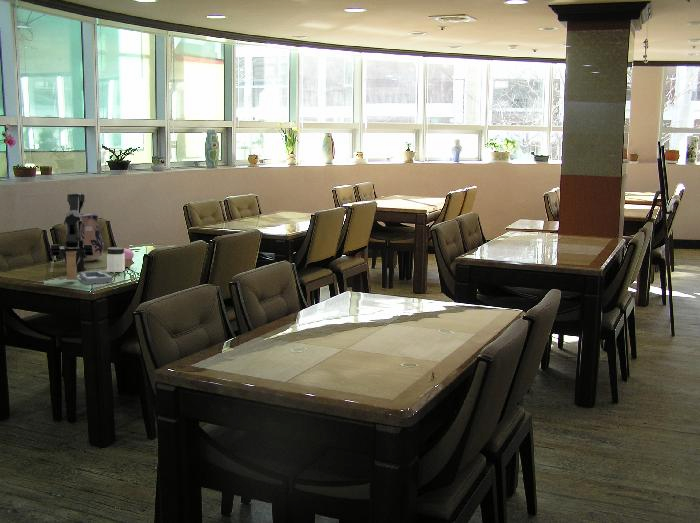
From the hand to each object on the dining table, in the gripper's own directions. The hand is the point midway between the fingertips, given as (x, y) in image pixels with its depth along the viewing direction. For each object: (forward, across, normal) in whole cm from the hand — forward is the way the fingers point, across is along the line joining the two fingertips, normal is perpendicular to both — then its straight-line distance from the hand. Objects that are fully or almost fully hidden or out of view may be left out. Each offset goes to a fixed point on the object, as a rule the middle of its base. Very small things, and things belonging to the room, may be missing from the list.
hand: (71, 264), depth 365 cm
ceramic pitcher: (-40, +1, +53) cm, 67 cm away
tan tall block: (+4, 0, +6) cm, 7 cm away
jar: (-14, +19, +26) cm, 35 cm away
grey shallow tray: (+1, +10, +11) cm, 15 cm away
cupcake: (-22, +23, +35) cm, 47 cm away
